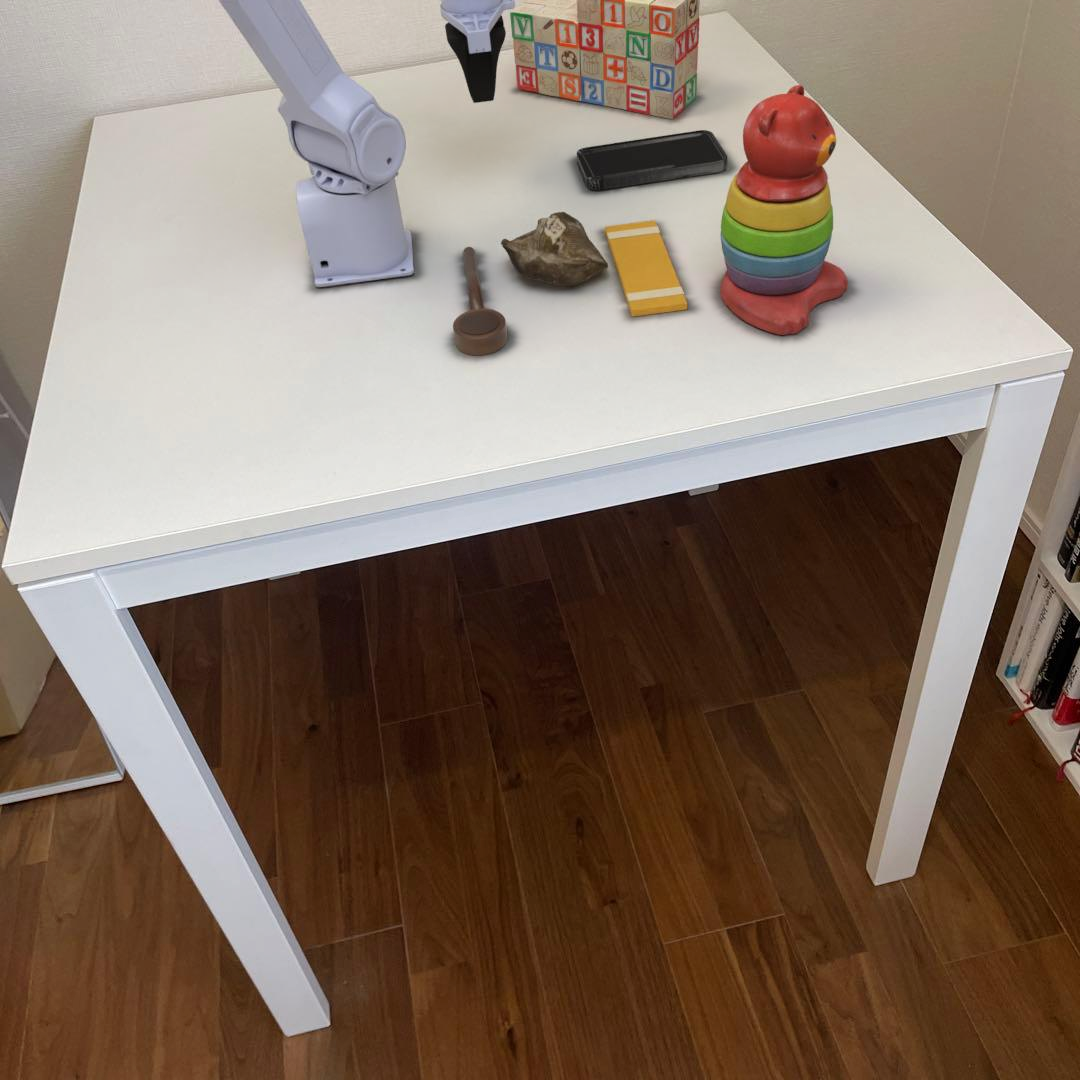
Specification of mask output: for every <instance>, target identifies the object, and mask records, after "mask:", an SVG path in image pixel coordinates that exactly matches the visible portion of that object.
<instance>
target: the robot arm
mask: <svg viewBox="0 0 1080 1080" xmlns="http://www.w3.org/2000/svg"><path fill="white" fill-rule="evenodd" d="M218 1H219V3H220V4H221V6H222V7H223V9H224V10H225V12H226V13H227V14H228V16H229V18H230V20H232V22H233V24H234V25H235V26H236V28H237V29H238V30H239V31H238V32H240V34H241V35H242V37H243V38H244V40H245V41H246V43H247V44H248V46H249V47H250V48H251V50H252V51H253V53H254V54H255V56H256V57H257V58H258V60H259V61H260V63H261V64H262V66H263V68H264V69H265V71H266V72H267V73H268V75H269V76H270V78H271V79H272V81H273V83H274V84H275V85H276V87H277V89H279V91H280V93H281V94H282V96H281V98H280V101H279V104H278V106H277V111H278V113H279V115H280V116H281V118H282V119H283V121H284V124H285V126H286V128H287V133H288V139H289V144H290V146H291V147H292V150H293V151H294V153H295V154H296V155H297V157H299V158H300V159H301V160H302V161H305V162H307V163H308V168H309V172H310V175H312V176H311V177H308V178H305V179H300V180H298V181H296V183H295V197H296V198H295V199H296V206H297V211H298V217H299V222H300V226H301V231H302V235H303V238H304V242H305V246H306V251H307V255H308V258H309V262H310V266H311V269H312V274H313V278H314V286H315V287H316V288H324V287H332V286H339V285H345V284H346V285H347V284H355V283H361V282H362V283H363V282H370V281H378V280H385V279H392V278H393V279H394V278H400V277H407V276H411V275H413V274H414V273H415V268H414V253H413V239H412V238H413V237H412V232H411V231H410V230H405V226H404V221H403V216H402V210H401V205H400V199H399V194H398V188H397V183H396V177H398V176H399V170H400V169H401V166H402V164H403V162H404V158H405V155H406V150H407V149H406V148H407V140H406V135H405V134H406V133H405V130H404V126H403V124H402V123H401V121H400V120H399V119H398V118H397V117H396V116H395V115H393V114H392V113H390V112H388V111H386V110H384V109H383V108H382V106H381V105H379V103H378V101H377V100H376V98H375V97H374V95H373V94H372V93H370V92H369V90H367V89H365V88H364V87H363V86H362V85H361V84H359V83H358V82H357V81H355V80H354V79H353V78H352V77H350V76H349V75H348V74H347V73H345V71H343V68H342V67H341V65H340V64H339V62H338V61H337V59H336V57H335V56H334V54H333V52H332V51H331V49H330V47H329V46H328V44H327V42H326V41H325V39H324V37H323V36H322V34H321V33H320V31H319V29H318V27H317V26H316V25H315V22H314V21H313V19H312V17H311V16H310V14H309V13H308V11H307V10H306V7H304V4H303V3H302V1H301V0H218ZM440 1H441V2H440V4H439V11H440V16H441V18H442V19H443V20H445V21H446V22H447V23H445V25H444V29H445V35H446V41H447V43H448V44H449V47H450V48H451V50H452V51H453V53H454V54H455V56H456V58H457V60H458V62H459V64H460V66H461V70H462V72H463V75H464V78H465V83H466V86H467V89H468V93H469V95H470V98H471V101H472V102H473V104H479V103H486V102H492V101H494V100H495V95H496V87H497V86H496V84H497V71H498V62H499V57H500V53H501V51H502V47H503V45H504V42H505V39H506V35H507V32H506V27H505V24H504V23H505V22H504V18H503V15H502V14H503V13H504V11H507V10H514V9H515V8H516V0H440Z"/></svg>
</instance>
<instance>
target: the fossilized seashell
mask: <svg viewBox="0 0 1080 1080" xmlns="http://www.w3.org/2000/svg"><path fill="white" fill-rule="evenodd" d="M500 245H501V246H502V248H503V249H504V250H505V252H506V253H507V256H508V258H509V260H510V262H511V264H512V266H513V268H514V269H515V271H516V272H517V273H518V274H519V275H520V276H521V277H523V278H526V279H529V280H533V281H543V282H545V283H546V284H549V285H553V286H559V287H562V286H563V287H564V286H565V287H566V286H571V285H572V286H573V285H577V284H580V283H583V282H586V281H589V280H590V279H591V278H593V277H594V276H596V275H597V274H600V272H602V271H605V270H607V269H608V268H609V263H608V262H607V260H606V259H605V258H604V257H603V254H601V252H600V250H599V249H598V248H597V247H596V246H595V244H594V243H593V242H592V240H591V239H590V238H589V236H588V234H587V232H586V230H585V227H584V225H583V224H582V222H581V221H580V220H578V219H577V218H575V217H574V216H572V215H570V214H569V213H567V212H565V211H558V212H554V213H551V214H550V215H549V216H548V217H541V218H539V219H538V220H537V225H536V227H535V229H533V230H531V231H529V232H526V233H523V234H522V235H519V236H518V237H515V238H514V239H512V240H509V239H507V238H503V239H501V242H500Z"/></svg>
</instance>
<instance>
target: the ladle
mask: <svg viewBox="0 0 1080 1080" xmlns="http://www.w3.org/2000/svg"><path fill="white" fill-rule="evenodd" d="M462 257H463V265H464V273H465V279H466V287H467V293H468V301H469V309H470V310H467V311H464V312H463V313H461V314H459V315H458V316H457V317H456V318H455V320H454V321H453V323H452V330H453V336H454V343H455V346H456V348H457V349H458V350H459V351H460V352H461V353H464V354H465V355H468V356H469V355H470V356H476V357H477V356H479V357H480V356H487V355H491V354H494V353H496V352H498V351H500V350H501V349H503V347H504V346H505V345H506V344H507V342H508V331H507V322H506V321H507V320H506V318H505V316H504V315H503V314H502V313H501V312H500V311H497V310H496V309H492V308H485V307H484V300H483V293H482V287H481V281H480V275H479V274H480V273H479V269H478V268H479V267H478V260H477V254H476V249H475V248H474V247H472V246H466V247H464V249H463V251H462Z"/></svg>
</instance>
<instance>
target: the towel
mask: <svg viewBox="0 0 1080 1080" xmlns="http://www.w3.org/2000/svg"><path fill="white" fill-rule="evenodd" d="M604 234H605V237H606V240H607V244H608V247H609V250H610V252H611V253H610V254H611V256H612V259H613V262H614V266H615V268H616V272H617V274H618V278H619V281H620V284H621V287H622V290H623V293H624V297H625V300H626V302H627V306H628V309H629V312H630V315H631V318H632V317H640V316H648V315H654V314H655V315H657V314H663V313H671V312H678V311H685V310H688V302H687V299H686V295H685V292H684V290H683V289H684V288H683V287H682V286H681V283H680V281H679V278H678V276H677V272H676V270H675V268H674V265H673V262H672V260H671V257H670V255H669V253H668V250H667V248H666V245H665V242H664V240H663V238H662V237H663V236H662V235H661V231H660V228H659V226H658V224H657V222H656V220H655V219H653V220H647V221H646V220H645V221H638V222H630V223H623V224H622V223H621V224H615V225H607V226H604Z"/></svg>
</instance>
